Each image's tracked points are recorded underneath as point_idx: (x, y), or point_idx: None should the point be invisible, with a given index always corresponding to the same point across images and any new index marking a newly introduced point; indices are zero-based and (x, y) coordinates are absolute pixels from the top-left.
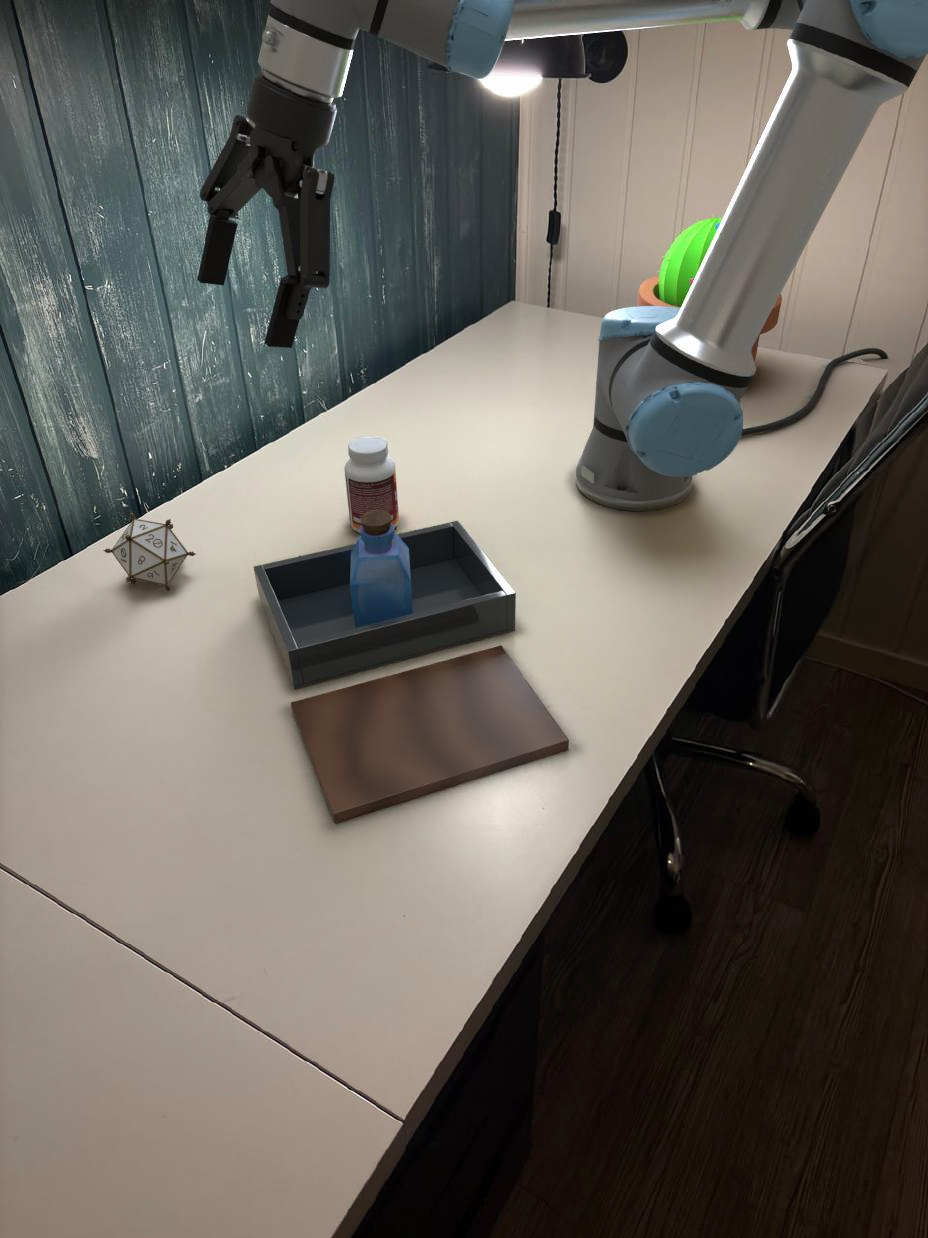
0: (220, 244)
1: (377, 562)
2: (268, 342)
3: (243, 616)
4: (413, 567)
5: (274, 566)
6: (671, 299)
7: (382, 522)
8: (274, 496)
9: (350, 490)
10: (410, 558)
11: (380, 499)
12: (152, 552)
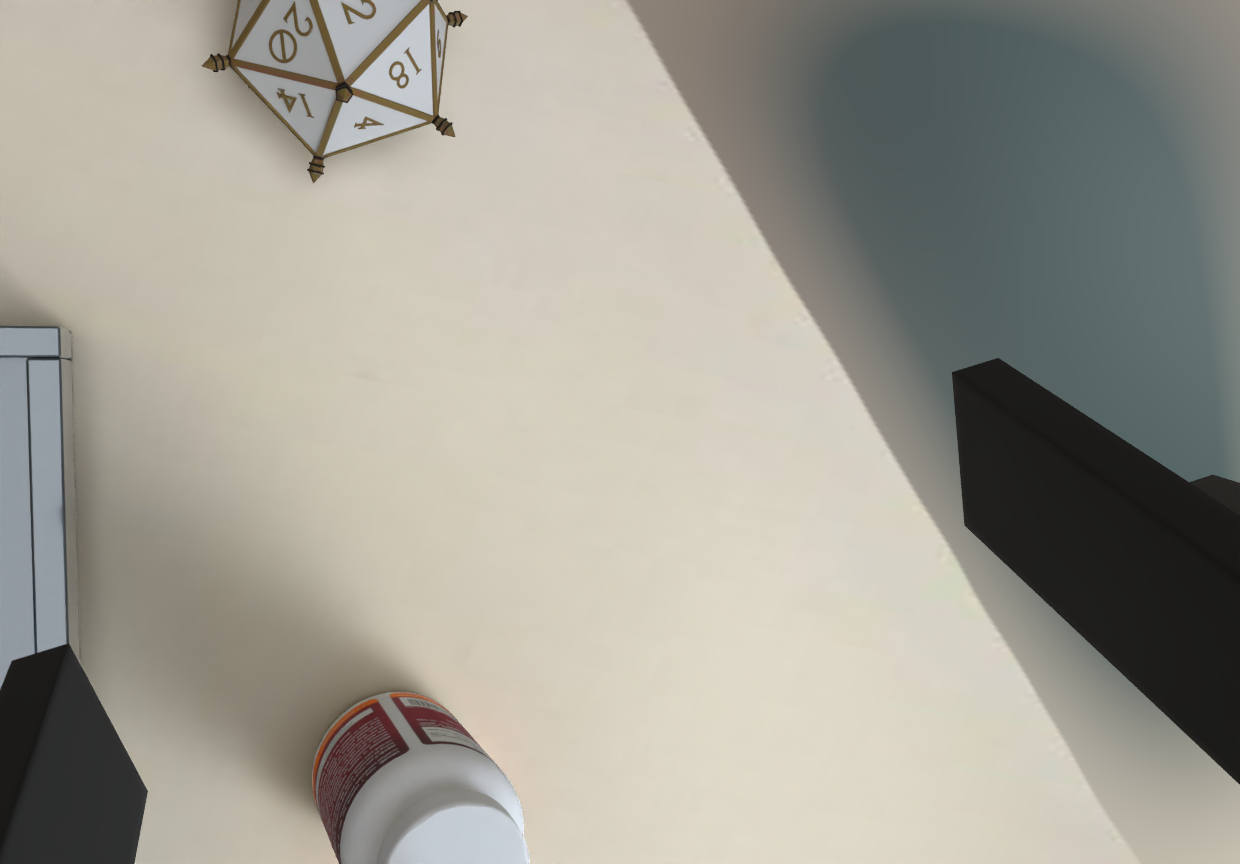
0: (1130, 592)
1: None
2: (15, 673)
3: (14, 266)
4: None
5: (28, 393)
6: None
7: None
8: (673, 498)
9: (392, 739)
10: None
11: (329, 826)
12: (253, 22)
